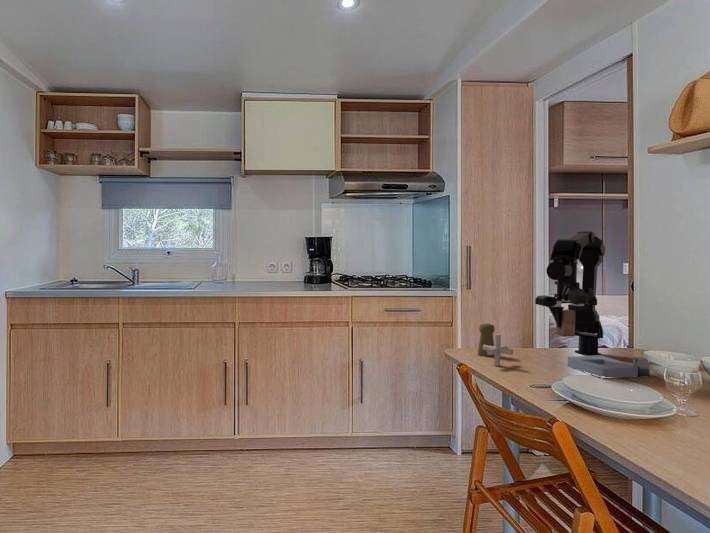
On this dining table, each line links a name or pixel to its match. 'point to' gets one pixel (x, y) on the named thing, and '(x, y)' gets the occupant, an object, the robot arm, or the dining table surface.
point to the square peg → (567, 324)
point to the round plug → (642, 366)
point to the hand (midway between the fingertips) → (565, 327)
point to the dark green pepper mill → (486, 338)
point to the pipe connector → (497, 350)
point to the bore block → (602, 366)
